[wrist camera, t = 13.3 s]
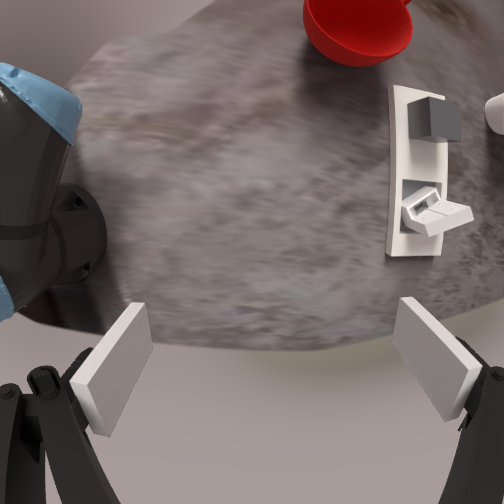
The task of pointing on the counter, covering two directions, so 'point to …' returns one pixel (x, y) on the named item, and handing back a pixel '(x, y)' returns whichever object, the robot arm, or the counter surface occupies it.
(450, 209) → the white angled block
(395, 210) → the white slotted base plate
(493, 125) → the foam cup
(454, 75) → the counter surface
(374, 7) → the ceramic cup
